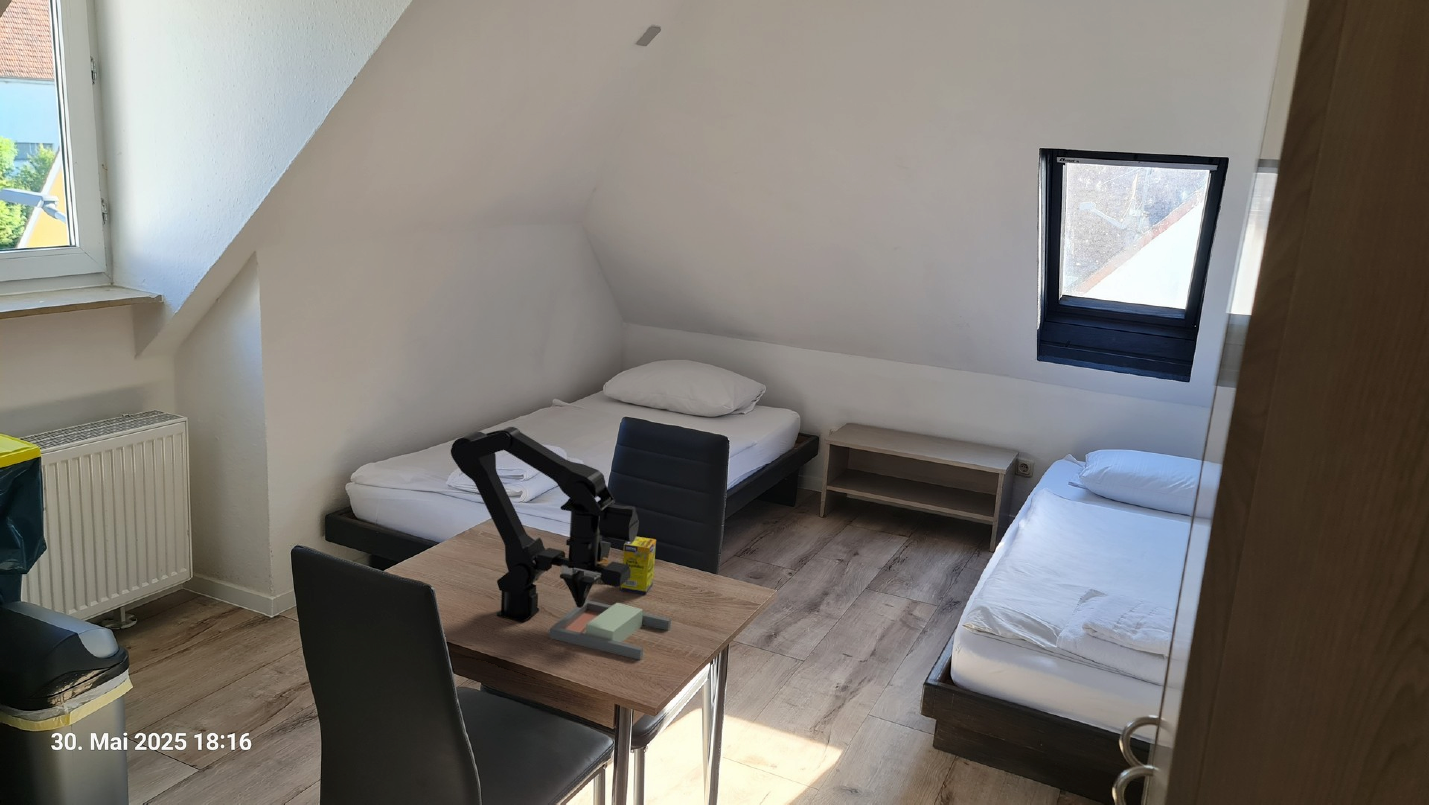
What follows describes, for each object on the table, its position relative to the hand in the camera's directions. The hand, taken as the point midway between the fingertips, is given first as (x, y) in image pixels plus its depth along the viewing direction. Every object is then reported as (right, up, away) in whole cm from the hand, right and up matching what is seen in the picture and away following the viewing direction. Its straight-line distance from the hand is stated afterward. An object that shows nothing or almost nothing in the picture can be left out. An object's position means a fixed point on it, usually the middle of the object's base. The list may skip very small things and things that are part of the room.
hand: (580, 606), depth 198 cm
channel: (+7, -5, -1) cm, 9 cm away
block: (+7, -5, -1) cm, 9 cm away
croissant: (-1, +2, +28) cm, 28 cm away
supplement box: (+10, 0, +21) cm, 24 cm away
